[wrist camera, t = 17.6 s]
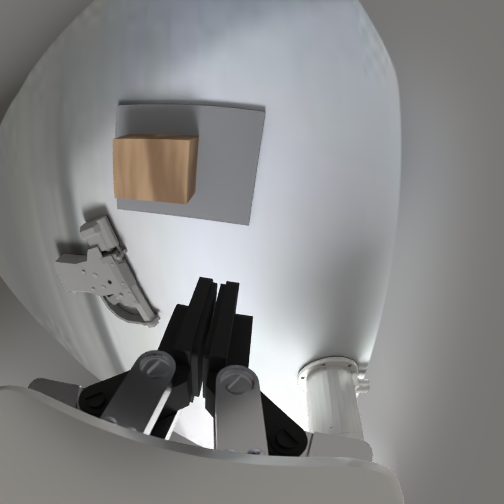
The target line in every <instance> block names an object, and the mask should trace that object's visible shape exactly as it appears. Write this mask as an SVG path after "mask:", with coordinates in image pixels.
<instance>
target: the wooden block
mask: <svg viewBox="0 0 504 504" xmlns="http://www.w3.org/2000/svg"><path fill="white" fill-rule="evenodd" d="M198 142H199V136H192V135H171V134H127V135H124V136H121V137H118V138H115V139H113V175H114V194H115V198H122V199H134V200H146V201H157V202H167V203H177V204H187V203H188V202H189V201H190V199H191V198H192V197H193V195H194V194H195V190H196V172H197V156H198Z"/></svg>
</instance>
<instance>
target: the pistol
mask: <svg viewBox="0 0 504 504" xmlns="http://www.w3.org/2000/svg"><path fill="white" fill-rule="evenodd" d="M80 234H81V236H82V238H85V239H86V240H87V242H88V244H89V246H90V248H89V249H88V253H87V255H73V254H63V255H62V256H61V257H60V258H59V259H58V260H57V261H56V262H55V263H54V266H55V268H56V271H57V273H58V276H59V278H60V281H61V283H62V285H63V288H64V290H65V291H66V292H69V293H73V294H77V293H78V292H89V293H93V294H96V295H99V296H100V297H101V298H102V300H103V301H104V303H105V305H106V306H107V308H108V309H109V310H110V311H111V312H112V313H113V314H114V315H116V316H117V317H118V318H120V319H122V320H124V321H126V322H128V323H135V324H142V325H148V327H149V328H150V327H155V326H156V325H157V324H158V323H159V322H158V320H159V319H160V317H159V316H157V314H156V313H154V312H153V311H152V309H151V308H150V306H149V304H148V303H147V301H146V299H145V298H144V295H143V293H142V291H141V290H140V288H139V286H138V284H137V283H136V279H135V277H134V275H133V273H132V271H131V270H130V268H129V266H128V264H127V262H126V260H125V258H124V255H123V254H124V253H126V252H127V249H126V248H125V249H123V248H122V247H119V245H118V244H119V241H118V239H117V237H116V235H115V233H114V231H113V229H112V227H111V225H110V223H109V220H108V218H107V216H106V215H105V216H102V217H99V218H96V219H94V220H91V221H89V222H86V223H85V224H83V225H82V226H81V227H80ZM115 246H116V248H114V247H115ZM105 250H106V251H105ZM102 251H103V252H102ZM121 301H122V302H123V304H124V305H125V306H131V305H135V307H136V308H137V310H138V311H139V313H140V315H135V314H130V313H128V312H126V311H124V310H122V309H121V308H120V307H119V306H118V305H117V303H119V302H121Z"/></svg>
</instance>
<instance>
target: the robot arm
mask: <svg viewBox="0 0 504 504" xmlns="http://www.w3.org/2000/svg"><path fill="white" fill-rule="evenodd" d="M238 290H239V283H236V282H229V281H227V282H226V284H221V286H220V289H219V293H218V297H217V301H216V296H217V283H213V279H210V278H204V277H200V278H199V280H198V283H197V285H196V288H195V291H194V293H193V296H192V299H191V301H190V304H189V306H186V305H181V304H177V305H176V307H175V309H174V312H173V314H172V316H171V319H170V321H169V324H168V326H167V328H166V331H165V333H164V336H163V338H162V341H161V343H160V346H159V348H158V350H151V351H148V352H145V353H143V354H142V355H141V356H140V357H139V358H138V359H137V360H136V362H135V363H134V365H133V367H132V368H131V370H129V371H127V372H124V373H122V374H119V375H117V376H114V377H112V378H109V379H106V380H104V381H101V382H99V383H96V384H93V385H90V386H88V387H86V388H81V386H80V385H76V384H70V383H64V382H59V381H54V380H49V379H45V378H37V379H34V380H33V381H32V382H31V383H30V384H29V386H28V388H26V387H21V386H12V385H8V386H0V504H404V498H403V493H402V490H401V487H400V483H399V481H398V479H397V477H396V475H395V474H394V473H393V472H392V471H391V470H390V469H388V468H387V467H385V466H382V465H380V464H378V463H374V462H372V455H373V454H372V449H371V447H370V445H369V444H368V443H367V442H365V441H364V436H363V430H362V424H361V419H360V414H359V408H358V403H357V397H356V393H368V392H369V379H359V378H357V376H358V374H359V370H358V366H357V364H356V363H355V362H354V361H353V360H351V359H348V358H344V357H328V358H323V359H320V360H317V361H314V362H312V363H310V364H308V365H307V366H305V367H304V368H303V369H302V370H301V371H300V372H299V374H298V385H299V386H300V388H302V389H303V390H305V391H306V394H307V408H308V423H309V432H306V431H304V430H303V429H302V428H301V427H300V426H299V425H298V424H296V423H295V422H294V421H293V420H292V419H291V418H290V417H288V416H287V415H286V414H285V413H284V412H283V411H282V410H281V409H279V408H278V407H277V406H276V405H275V404H274V403H273V402H272V401H271V400H270V399H269V398H268V397H266V396H265V395H264V394H263V393H262V392H261V391H260V386H259V380H258V377H257V376H256V374H255V373H254V372H253V371H252V370H250V369H249V368H248V366H249V355H250V344H251V333H252V322H253V316H247V315H240V314H235V313H236V305H237V298H238ZM202 382H203V398H205V408H206V410H207V411H208V412H209V413H210V414H211V416H212V417H213V432H214V449H208V448H203V447H197V446H192V445H187V444H183V443H177V442H174V441H169V438H170V435H171V433H172V431H173V429H174V427H175V424H176V422H177V420H178V418H179V416H180V413H181V409H182V408H184V407H186V406H188V405H189V403H190V402H192V403H193V400H194V396H197V397H199V395H200V391H201V386H202Z"/></svg>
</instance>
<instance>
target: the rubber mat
mask: <svg viewBox="0 0 504 504" xmlns="http://www.w3.org/2000/svg"><path fill="white" fill-rule="evenodd" d="M264 118H265V112H263V111H256V110H248V109H239V108H230V107H218V106H204V105H183V104H136V105H117V111H116V137H115V138H118V137H121V136H124V135H127V134H171V135H192V136H199V142H198V156H197V172H196V190H195V194H194V195H193V197H192V198H191V199H190V201H189V202H188V203H187V204H177V203H167V202H157V201H146V200H134V199H122V198H117V209H122V210H131V211H140V212H148V213H157V214H165V215H173V216H181V217H189V218H197V219H205V220H212V221H220V222H227V223H234V224H241V225H248V226H249V220H250V213H251V206H252V199H253V192H254V185H255V178H256V172H257V165H258V158H259V151H260V145H261V138H262V131H263V125H264Z"/></svg>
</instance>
